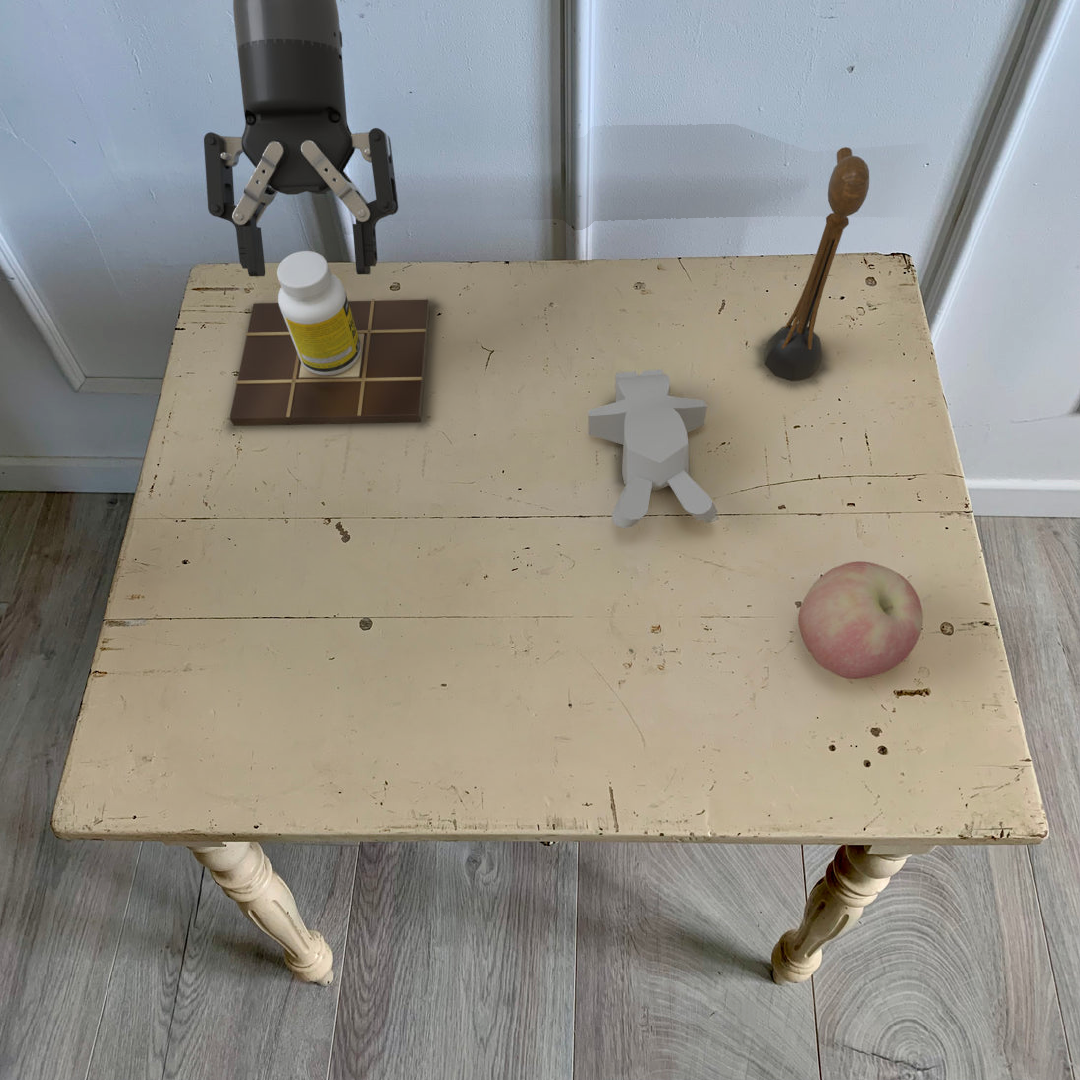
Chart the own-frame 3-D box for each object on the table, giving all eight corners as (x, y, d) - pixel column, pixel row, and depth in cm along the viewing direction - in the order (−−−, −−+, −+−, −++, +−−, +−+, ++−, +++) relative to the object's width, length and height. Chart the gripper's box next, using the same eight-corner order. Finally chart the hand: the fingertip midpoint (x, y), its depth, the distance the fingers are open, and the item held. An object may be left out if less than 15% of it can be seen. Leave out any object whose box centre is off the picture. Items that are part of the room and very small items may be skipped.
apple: (871, 715, 61) (909, 675, 54) (770, 660, 64) (795, 615, 57) (913, 626, 65) (955, 577, 58) (816, 576, 67) (845, 523, 60)
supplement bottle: (372, 361, 77) (347, 277, 68) (314, 387, 75) (281, 304, 67) (347, 321, 79) (320, 234, 70) (291, 345, 78) (256, 260, 69)
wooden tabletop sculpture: (763, 327, 79) (819, 126, 61) (816, 330, 78) (888, 129, 61) (764, 379, 76) (823, 184, 58) (819, 382, 76) (895, 188, 58)
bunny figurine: (697, 351, 72) (734, 494, 64) (691, 396, 77) (725, 536, 68) (582, 361, 72) (604, 505, 64) (582, 405, 76) (602, 546, 68)
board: (233, 425, 75) (228, 417, 74) (256, 310, 81) (252, 301, 80) (420, 422, 75) (418, 413, 74) (429, 306, 81) (427, 297, 80)
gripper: (173, 37, 62) (203, 277, 67) (374, 31, 62) (391, 273, 66) (214, 62, 70) (238, 277, 74) (394, 56, 69) (407, 273, 74)
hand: (310, 275), depth 70 cm, fingers open, 8 cm apart
